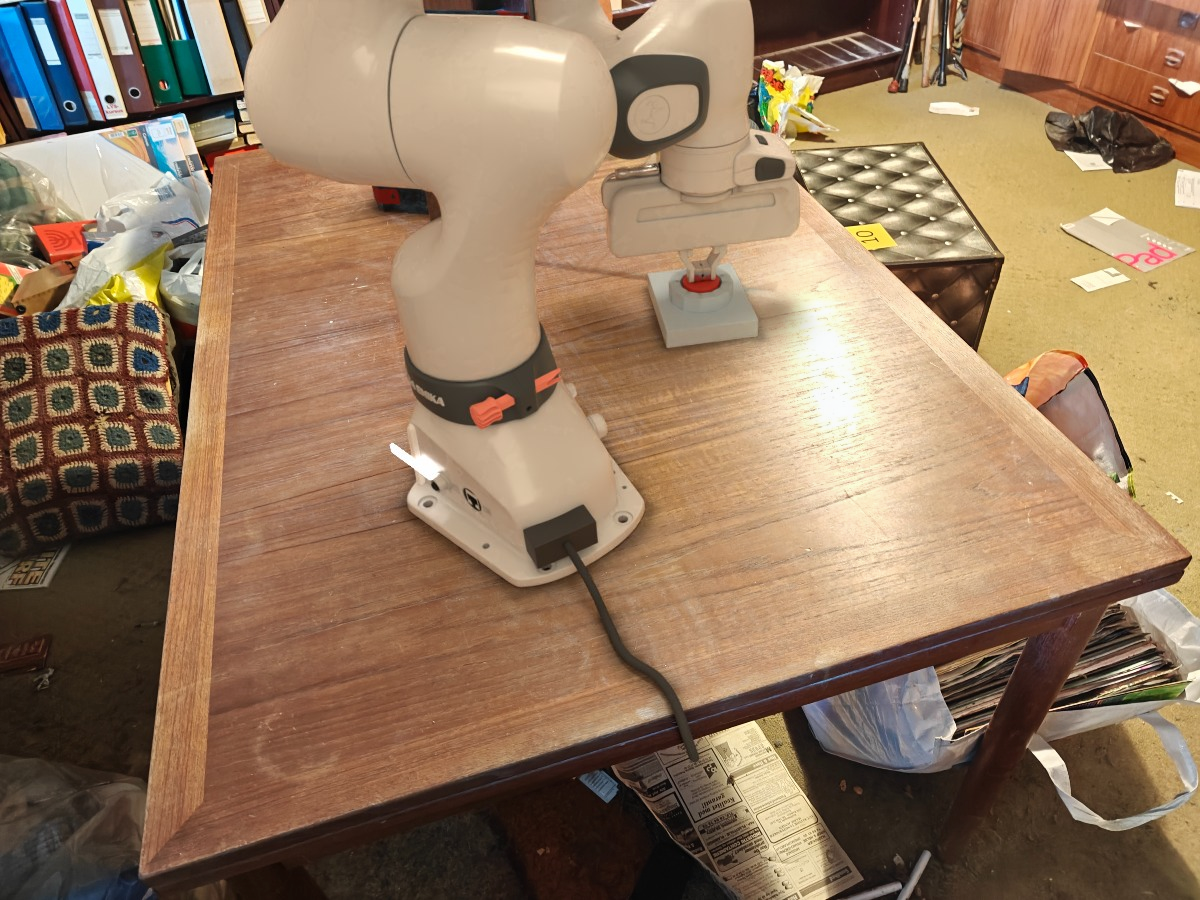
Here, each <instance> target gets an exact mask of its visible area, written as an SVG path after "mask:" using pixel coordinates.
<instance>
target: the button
mask: <svg viewBox="0 0 1200 900" xmlns="http://www.w3.org/2000/svg"><path fill="white" fill-rule="evenodd" d="M683 288H684V289H686V290H688V291H689V292H694V293H707V292H712V291H714V290H716V289H718V288H719V278H718V276H717V275H716V279H715V280H707V281H700V282H693V283H689V282H688V279H687V275H685V277H684V278H683Z"/></svg>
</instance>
